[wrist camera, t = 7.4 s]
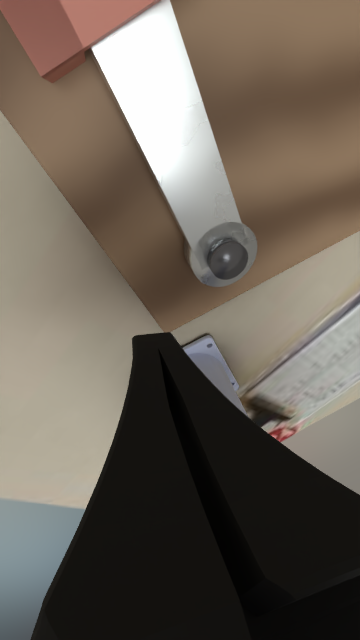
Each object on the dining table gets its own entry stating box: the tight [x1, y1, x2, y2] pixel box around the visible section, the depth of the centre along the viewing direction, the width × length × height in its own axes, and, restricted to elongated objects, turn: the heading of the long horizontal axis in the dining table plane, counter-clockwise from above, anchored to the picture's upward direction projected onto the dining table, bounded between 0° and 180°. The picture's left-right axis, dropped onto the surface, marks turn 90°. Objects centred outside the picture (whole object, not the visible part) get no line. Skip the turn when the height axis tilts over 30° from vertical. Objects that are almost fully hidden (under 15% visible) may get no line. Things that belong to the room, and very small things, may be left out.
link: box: [89, 0, 257, 287], centre depth 12 cm, size 16×4×2 cm, turn 26°
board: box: [0, 0, 360, 333], centre depth 14 cm, size 20×19×1 cm
